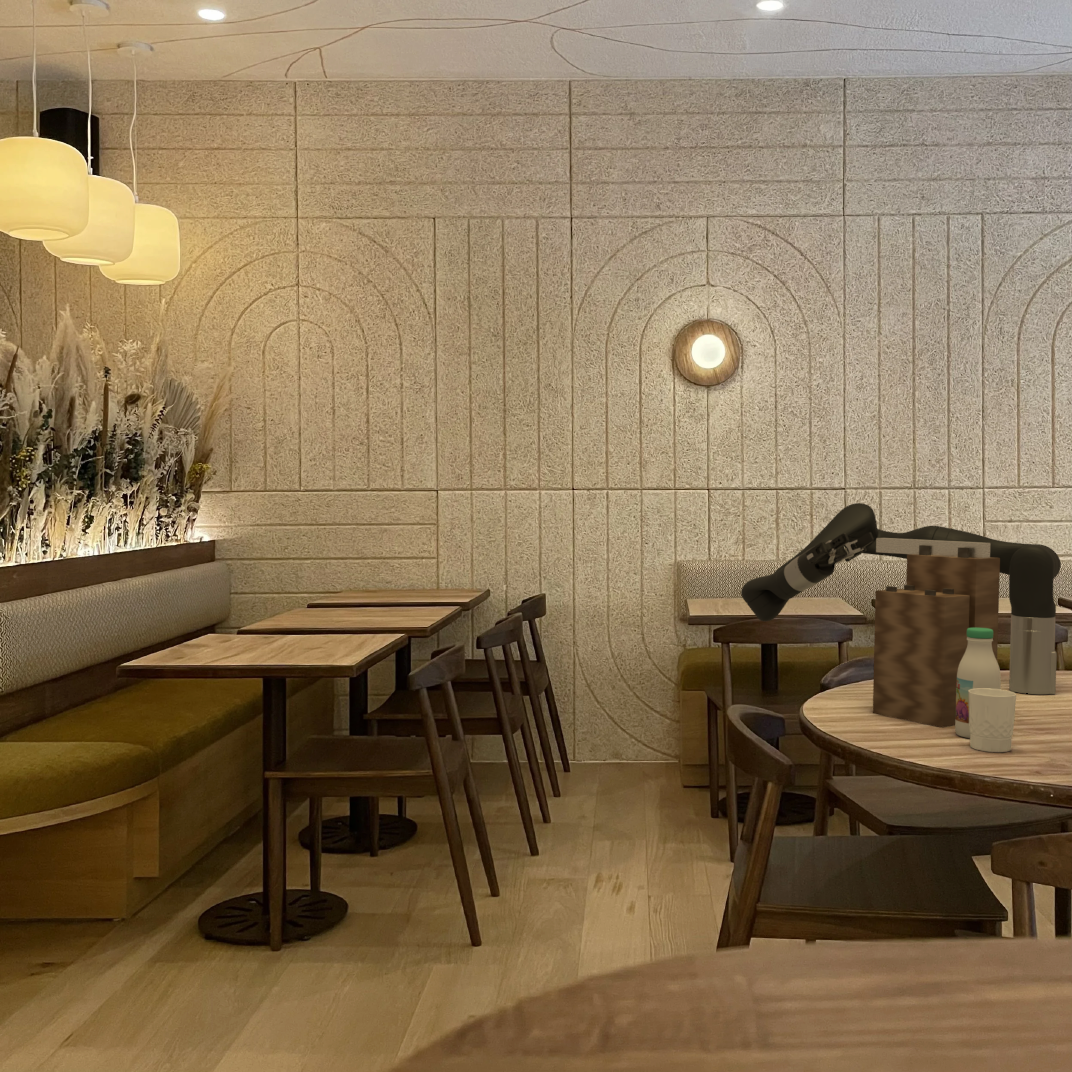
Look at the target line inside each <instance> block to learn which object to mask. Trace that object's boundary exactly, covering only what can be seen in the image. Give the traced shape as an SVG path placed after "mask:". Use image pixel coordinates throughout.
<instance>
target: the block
mask: <svg viewBox="0 0 1072 1072" xmlns="http://www.w3.org/2000/svg"><path fill="white" fill-rule="evenodd" d="M919 545H927V546H930V555H932V556H949V557H958V547H962V548H969V558H990V543H982V542H961V541H940V540H918V539H897V538H876V552H880V553H898V554H915V555H919Z"/></svg>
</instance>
